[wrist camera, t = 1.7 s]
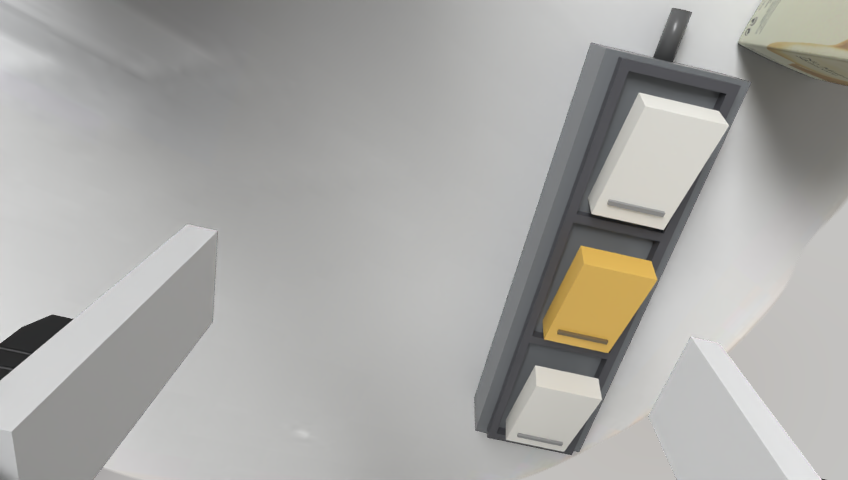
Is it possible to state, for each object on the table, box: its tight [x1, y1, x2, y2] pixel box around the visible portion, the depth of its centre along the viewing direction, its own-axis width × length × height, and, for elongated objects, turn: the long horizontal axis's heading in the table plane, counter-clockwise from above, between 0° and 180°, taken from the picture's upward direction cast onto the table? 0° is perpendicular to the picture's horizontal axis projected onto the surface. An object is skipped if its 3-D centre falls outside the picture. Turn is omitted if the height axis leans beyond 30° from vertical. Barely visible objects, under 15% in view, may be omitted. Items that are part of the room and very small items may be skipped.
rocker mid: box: [543, 246, 657, 353], centre depth 36 cm, size 8×5×2 cm, turn 168°
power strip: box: [474, 8, 751, 455], centre depth 39 cm, size 34×9×5 cm, turn 168°
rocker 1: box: [506, 365, 602, 452], centre depth 40 cm, size 8×5×2 cm, turn 168°
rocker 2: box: [588, 93, 729, 230], centre depth 32 cm, size 8×5×2 cm, turn 168°
